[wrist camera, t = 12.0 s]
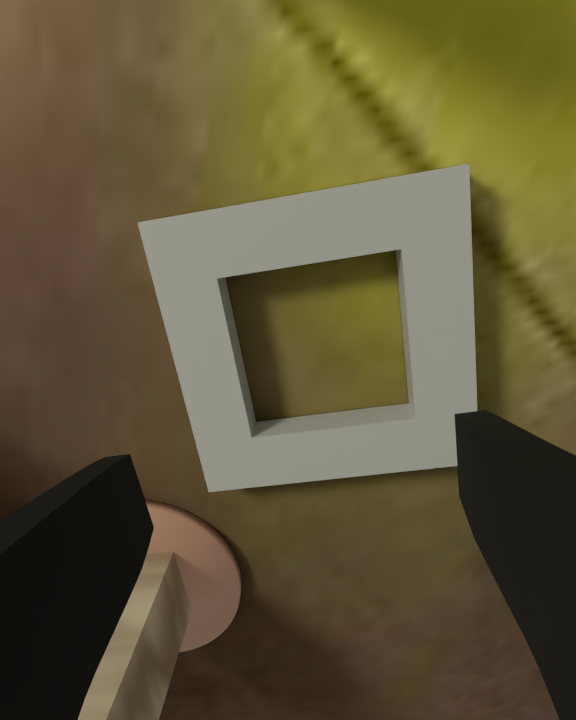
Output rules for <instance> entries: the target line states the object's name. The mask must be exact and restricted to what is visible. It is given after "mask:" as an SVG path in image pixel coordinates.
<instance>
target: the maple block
mask: <svg viewBox="0 0 576 720" xmlns="http://www.w3.org/2000/svg"><path fill="white" fill-rule="evenodd" d="M191 611H192V610H191V606H190V603H189V600H188V597H187V594H186V590H185V587H184V584H183V581H182V577H181V574H180V571H179V568H178V564H177V561H176V558H175V555H174V552H164V553H153V554H147V555H146V558H145V561H144V564H143V567H142V570H141V573H140V575H139V577H138V580H137V582H136V584H135V586H134V589H133V591H132V593H131V595H130V598H129V600H128V602H127V604H126V607H125V609H124V611H123V613H122V615H121V618H120V620H119V622H118V624H117V626H116V629H115V631H114V633H113V635H112V637H111V640H110V642H109V644H108V646H107V648H106V651H105V653H104V655H103V657H102V659H101V662H100V664H99V666H98V668H97V670H96V673H95V675H94V678H93V680H92V683H91V685H90V687H89V690H88V692H87V695H86V697H85V700H84V703H83V706H82V709H81V712H80V715H79V717H78V720H159V717H160V714H161V710H162V707H163V704H164V701H165V697H166V694H167V691H168V687H169V684H170V681H171V677H172V674H173V671H174V667H175V664H176V661H177V657H178V654H179V651H180V648H181V644H182V641H183V638H184V634H185V631H186V628H187V624H188V621H189V618H190V614H191Z"/></svg>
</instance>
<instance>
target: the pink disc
mask: <svg viewBox="0 0 576 720" xmlns="http://www.w3.org/2000/svg"><path fill="white" fill-rule="evenodd" d="M145 502H146V505H147V508H148V511H149V514H150V517H151V520H152V523H153V526H154V529H153V533H152V537H151V541H150V544H149V548H148V551H147V554H153V553H164V552H174V555H175V558H176V561H177V564H178V568H179V571H180V574H181V577H182V581H183V584H184V587H185V590H186V594H187V597H188V600H189V603H190V606H191V610H192V611H191V614H190V618H189V621H188V624H187V628H186V631H185V634H184V638H183V641H182V644H181V648H180V651H179V652H184V651H189V650H192V649H195V648H198V647H201V646H203V645H205V644H207V643H209V642H211V641H212V640H214V639H215V638H217V637H218V636H219V635H220V634H222V633H223V632H224V631H225V630H226V629H227V627H228V626H229V625H230V624H231V622H232V620H233V618H234V617H235V615H236V612H237V609H238V606H239V601H240V596H241V590H242V578H241V572H240V568H239V565H238V562H237V559H236V557H235V555H234V553H233V551H232V549H231V548H230V547H229V545H228V544H227V542H226V541H225V540H224V539H223V538H222V537H221V535H220V534H219V533H218V532H217V531H216V530H214V529H213V528H212V527H211V526H210V525H209V524H207V523H206V522H204V521H203V520H201V519H200V518H198V517H197V516H195V515H193V514H191V513H189V512H187V511H185V510H182V509H180V508H177V507H175V506H171V505H168V504H164V503H160V502H154V501H146V500H145Z"/></svg>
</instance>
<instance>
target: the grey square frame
mask: <svg viewBox="0 0 576 720" xmlns="http://www.w3.org/2000/svg"><path fill="white" fill-rule="evenodd" d="M138 227H139V230H140V234H141V238H142V242H143V245H144V249H145V253H146V257H147V261H148V264H149V268H150V272H151V276H152V279H153V283H154V287H155V291H156V295H157V298H158V302H159V306H160V310H161V313H162V317H163V321H164V325H165V329H166V332H167V336H168V340H169V344H170V347H171V351H172V355H173V359H174V363H175V366H176V370H177V374H178V378H179V381H180V385H181V389H182V393H183V397H184V400H185V404H186V408H187V412H188V415H189V419H190V423H191V427H192V431H193V434H194V438H195V442H196V446H197V449H198V453H199V457H200V461H201V465H202V468H203V472H204V476H205V480H206V483H207V487H208V491H209V492H214V491H224V490H233V489H243V488H252V487H262V486H271V485H281V484H290V483H300V482H309V481H319V480H328V479H338V478H347V477H357V476H366V475H376V474H385V473H395V472H404V471H414V470H423V469H433V468H442V467H452V466H458V465H457V448H456V432H455V415H454V414H458V413H466V412H474V411H477V382H476V352H475V322H474V291H473V261H472V231H471V200H470V170H469V164H465V165H460V166H454V167H448V168H443V169H437V170H431V171H426V172H420V173H414V174H409V175H403V176H397V177H392V178H386V179H381V180H375V181H369V182H364V183H358V184H352V185H347V186H341V187H335V188H330V189H324V190H319V191H313V192H307V193H302V194H296V195H290V196H285V197H279V198H273V199H268V200H262V201H257V202H251V203H245V204H240V205H234V206H228V207H223V208H217V209H211V210H206V211H200V212H195V213H189V214H183V215H178V216H172V217H166V218H161V219H155V220H149V221H144V222H138ZM393 250H396V261H397V272H398V284H399V295H400V307H401V318H402V330H403V341H404V352H405V364H406V375H407V387H408V398H409V403H407V404H399V405H391V406H382V407H374V408H366V409H358V410H349V411H341V412H333V413H325V414H317V415H308V416H300V417H292V418H284V419H275V420H267V421H259V422H256V419H255V415H254V410H253V405H252V400H251V396H250V391H249V386H248V382H247V377H246V372H245V367H244V363H243V358H242V353H241V349H240V344H239V339H238V334H237V330H236V325H235V320H234V315H233V311H232V306H231V301H230V297H229V292H228V287H227V282H226V278H225V277H230V276H237V275H243V274H249V273H255V272H262V271H268V270H274V269H280V268H287V267H293V266H299V265H305V264H312V263H318V262H324V261H331V260H337V259H343V258H349V257H356V256H362V255H368V254H374V253H381V252H387V251H393Z"/></svg>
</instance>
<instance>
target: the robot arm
mask: <svg viewBox="0 0 576 720" xmlns="http://www.w3.org/2000/svg"><path fill="white" fill-rule="evenodd" d="M454 415H455V432H456V448H457V465H458V482H459V496H460V499H461V502H462V505H463V508H464V511H465V514H466V516H467V519H468V522H469V525H470V527H471V530H472V533H473V536H474V538H475V540H476V542H477V544H478V546H479V549H480V551H481V553H482V555H483V557H484V558H485V560H486V562H487V564H488V566H489V568H490V570H491V572H492V574H493V576H494V578H495V580H496V582H497V584H498V586H499V588H500V590H501V592H502V594H503V596H504V598H505V600H506V602H507V604H508V606H509V608H510V610H511V612H512V614H513V616H514V618H515V619H516V621H517V623H518V625H519V627H520V629H521V631H522V633H523V635H524V637H525V639H526V641H527V643H528V645H529V647H530V650H531V652H532V654H533V656H534V658H535V660H536V663H537V665H538V667H539V669H540V671H541V674H542V676H543V679H544V681H545V684H546V686H547V689H548V691H549V694H550V696H551V699H552V701H553V704H554V706H555V709H556V711H557V714H558V716H559V719H560V720H576V455H573V454H571V453H569V452H567V451H565V450H563V449H561V448H559V447H557V446H555V445H553V444H551V443H549V442H547V441H545V440H543V439H541V438H539V437H537V436H535V435H533V434H531V433H529V432H528V431H526V430H524V429H522V428H520V427H518V426H516V425H514V424H512V423H510V422H508V421H506V420H505V419H503V418H501V417H499V416H497V415H495V414H492V413H490V412H488V411H485V410H482V411H474V412H466V413H458V414H454ZM153 529H154V526H153V523H152V520H151V517H150V514H149V511H148V508H147V505H146V502H145V498H144V495H143V492H142V489H141V486H140V483H139V480H138V477H137V474H136V471H135V468H134V465H133V462H132V459H131V456H130V454H127V455H119V456H111V457H104V458H102V459H100V460H98V461H96V462H94V463H92V464H90V465H89V466H87V467H85V468H83V469H82V470H80V471H78V472H77V473H75V474H73V475H72V476H70V477H68V478H67V479H65V480H64V481H62V482H60V483H59V484H57V485H56V486H54V487H53V488H51V489H49V490H48V491H46V492H45V493H43V494H42V495H40V496H38V497H37V498H35V499H34V500H32V501H31V502H29V503H27V504H26V505H24V506H23V507H21V508H20V509H18V510H16V511H15V512H13V513H11V514H10V515H8V516H6V517H5V518H3V519H1V520H0V720H78V717H79V715H80V712H81V709H82V706H83V703H84V700H85V697H86V695H87V692H88V690H89V687H90V685H91V683H92V680H93V678H94V675H95V673H96V670H97V668H98V666H99V664H100V662H101V659H102V657H103V655H104V653H105V651H106V648H107V646H108V644H109V642H110V640H111V637H112V635H113V633H114V631H115V629H116V626H117V624H118V622H119V620H120V618H121V615H122V613H123V611H124V609H125V607H126V604H127V602H128V600H129V598H130V595H131V593H132V591H133V589H134V586H135V584H136V582H137V580H138V577H139V575H140V573H141V570H142V567H143V564H144V561H145V558H146V555H147V551H148V548H149V544H150V541H151V537H152V533H153Z"/></svg>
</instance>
